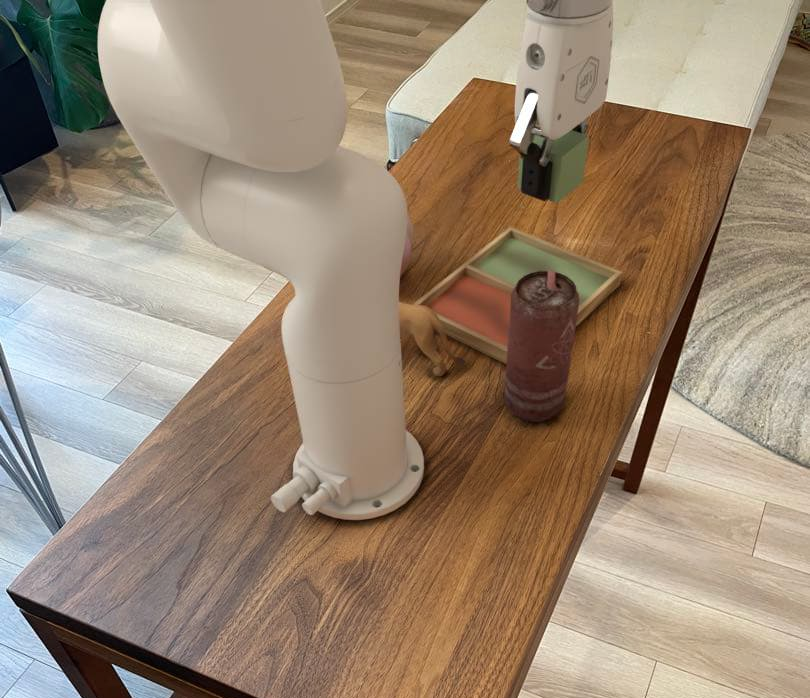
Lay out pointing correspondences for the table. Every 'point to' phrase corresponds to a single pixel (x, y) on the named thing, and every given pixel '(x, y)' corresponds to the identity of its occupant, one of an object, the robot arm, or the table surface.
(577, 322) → the sorting tray
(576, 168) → the green block
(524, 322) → the can
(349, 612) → the table surface
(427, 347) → the lion figurine
